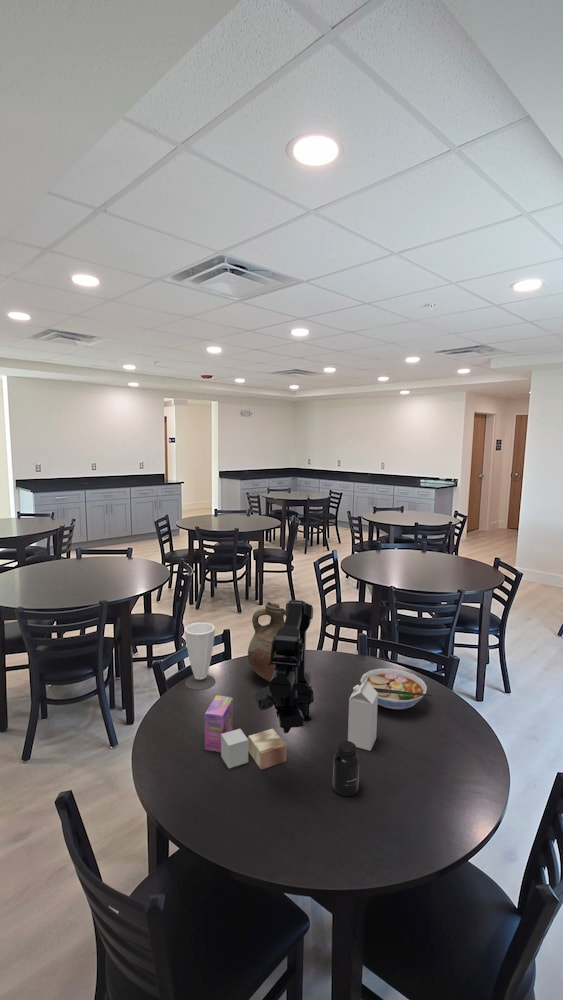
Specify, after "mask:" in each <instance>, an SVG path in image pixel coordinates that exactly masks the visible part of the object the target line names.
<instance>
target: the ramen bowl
mask: <svg viewBox="0 0 563 1000" xmlns="http://www.w3.org/2000/svg"><path fill="white" fill-rule="evenodd" d="M366 679H367V682H368V683H369V684H370V685H371V686H372V687H373V688H374V689H375V690H376V691H377V693H378V704H377V705H379V706H381V707H384V708H387V709H392V710H405V709H408V708H412V707H414V705H416V704H417V703H419V702H420V701H421V700H422V699H423V698H424V697H431V694H429V693H427V688H428V686H427V685H426V683H425V681H424V680H423V679H421V678H420V677H419V676H417V675H415V674H414V673H411V672H408V671H406V670H401V669H397V668H375V669H371V670H368V671H366V673H364V674H362V676H361V678H360V680H359V681H360V683H361V684H360V685H362V684H363V683H364V682H365V680H366Z"/></svg>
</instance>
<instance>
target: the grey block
mask: <svg viewBox="0 0 563 1000" xmlns="http://www.w3.org/2000/svg"><path fill="white" fill-rule="evenodd" d="M220 756H221V758H222V760H223V762H224V763H225V765H226V767H227V768H228V769H231V768H236V767H238V766H242V765H244V764H248V763H249V751H248V737H247V736H246V734H245V733H244V731H243V730H242V729H241V728H238V729H233V731H230V732H226V733H223V734H221V752H220Z"/></svg>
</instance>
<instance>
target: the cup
mask: <svg viewBox="0 0 563 1000" xmlns="http://www.w3.org/2000/svg"><path fill="white" fill-rule="evenodd" d="M215 634H216V627H215V625H214V624H212V623H209V622H203V621H202V622H193V623H189V624H188V625H186V626H185V627H184V636H185V643H186V648H187V653H188V659H189V662H190V668H191V671H192V673H193V675H191V676H190V677H189V678H187V679H186V680H185V682H184V685H185V686H186V687H187V688H188V689H190V690H194V691H195V690H196V691H201V690H202V691H203V690H207V689H209V688H212V687H213V686H215V684H216V679H215V678H214V676H212V675H210V674H208V673H209V670H210V665H211V661H212V655H213V649H214V644H215V636H216V635H215Z"/></svg>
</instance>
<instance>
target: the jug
mask: <svg viewBox="0 0 563 1000" xmlns="http://www.w3.org/2000/svg"><path fill="white" fill-rule="evenodd" d="M264 606H265V608H263V609H261V608H260V609H258V610H256V611H255V612H254V613H253V615H252V618H251V619H252V620H251V622H252V626H253V629H254V634H253V636H252V638H251V640H250V642H249V645H248V649H247V658H248V663H249V664H250V666H251V668H252V669H253V671H254V672H255V673H256V674H257V675H258V676H260V677H261V678H262V679H264V680H266V681H267V682H269V683H270V681H271V679H272V676H273V674H274V671H275V668H276V665H271V664H270V658H271V649H272V641H273V637H275V636H276V633H277V631H278V629H280V628H282V627H283V626H284V623H285V618H284V617H285V610H286V609H285V608H283V607H281V606H280V604H279V603H276V602H271V601H267V602H266V603H265V605H264ZM262 616H263V617H264V616H270V621H269V623H267V624H265V625H262V624H260V623H259V619H260V617H262ZM280 656H281V655H276V654H275V655H274V657H280Z"/></svg>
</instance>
